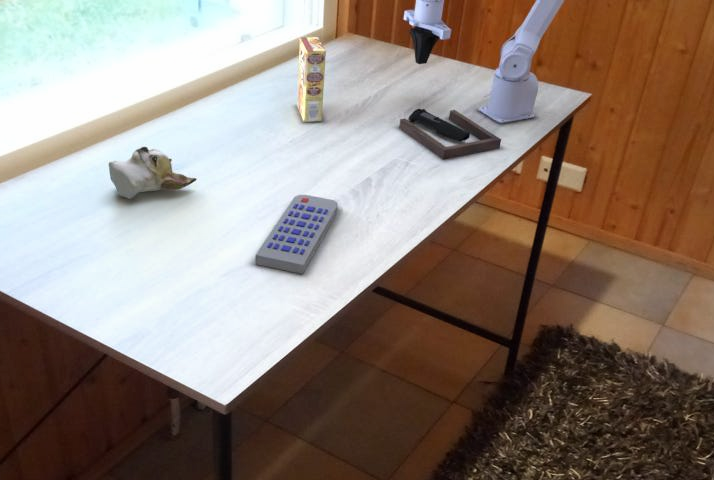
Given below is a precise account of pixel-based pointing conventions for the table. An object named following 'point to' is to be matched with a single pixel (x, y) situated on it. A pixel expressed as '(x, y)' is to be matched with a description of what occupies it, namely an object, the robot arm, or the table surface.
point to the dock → (485, 144)
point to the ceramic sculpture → (146, 173)
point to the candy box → (311, 78)
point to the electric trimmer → (439, 125)
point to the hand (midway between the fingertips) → (421, 62)
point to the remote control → (297, 234)
